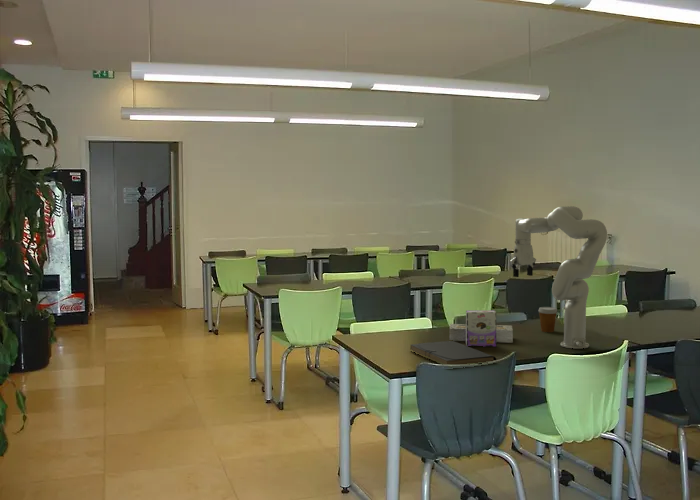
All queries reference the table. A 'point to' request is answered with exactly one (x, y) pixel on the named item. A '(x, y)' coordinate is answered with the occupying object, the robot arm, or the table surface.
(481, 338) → the candy box
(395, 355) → the table surface
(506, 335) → the label stand
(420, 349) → the file folder
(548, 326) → the disposable coffee cup
